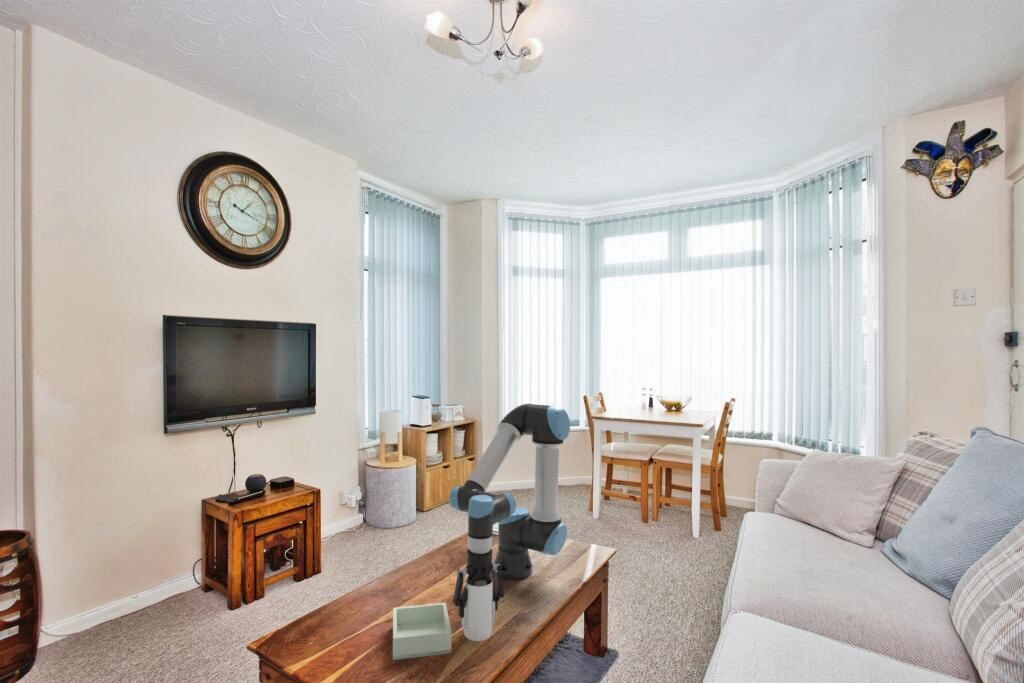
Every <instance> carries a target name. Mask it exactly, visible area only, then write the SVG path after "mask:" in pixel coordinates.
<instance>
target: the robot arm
mask: <svg viewBox="0 0 1024 683" xmlns="http://www.w3.org/2000/svg"><path fill="white" fill-rule="evenodd" d="M570 429H571V422H570V417H569V414H568V412H567V410H565V408H563V407H560V406H555V405H546V404H533V403H524V404H521V405H518V406H516V407H514V409H512V410H510V411H509V412H508V413H507V414H506V415H505V416H504V417H503V418H502V419H501V421H500V422H499V424H498V426H497V432H496V433H495V435H494V436H493V438H492V440H491V442H490V443H489V445H488V446H487V448H486V449H485V451H484V453H483V455H482V456H481V457H480V458H479V461H478V462H477V463H476V466H474V468H473V469H472V472H471V473H470V475H469V477H467V480H466V481H465V482H464V483H463V485H459V486H458V485H457V486H455V487H453V488H452V489H451V491H450V494H449V498H448V501H449V505H450V507H451V508H452V509H454V510H457V511H460V512H463V513H464V512H465V513H467V518H468V520H467V523H468V524H467V530H468V531H467V554H466V558H467V560H466V565H465V568H463V569H457V570H456V583H455V587H454V592H453V599H452V603H453V605H454V606H455V607H458V615H459V617H460V619H461V627H462V629H463V630H465V629H467V606H466V605H465V604H466V602H467V599H468V589H466V584H465V585H464V581H465V577H466V575H468V576H467V577H468V578H467V577H466V578H467V583H468V584H470V585H472V586H473V585H475V582H477V581H480V580H485V581H486V583H487V585H489V584H490V583H491V579H490V577H491V576H490V574H491V573H492V571H493V573H494V578H495V579H494V580H495V585H496V589H495V586H494V585H493V596H492V625H493V624H496V622H495V621H496V612H497V611H498V609H499V602H500V599H501V598H504V596H505V593H504V586H503V581H502V580H503V579H507V580H519V579H520V580H522V579H525V578H528V577H530V576H531V575H532V573H533V563H532V560H531V556H530V555H531V554H530V552H529V550H532V551H535V552H537V553H541V554H544V555H550V556H557V555H558V554H560V552H561V551H562V550H563V547H564V546H565V543H566V540H567V537H568V536H567V535H568V527H567V525H566V524H565V523H564V522H562V514H561V513H560V512H559V511H558V504H559V503H558V502H559V500H558V499H559V468H560V462H559V461H560V448H561V446H562V445H563V444H564V440H566V439H567V438H568V436H569V435H570V433H569V432H570ZM525 435H528V436H531V440H532V441H531V442H532V444H534V446H535V469H534V470H535V472H534V473H535V474H534V475H535V477H534V505H533V506H534V508H533V510H532V512H530V510H529V509H527V508H525V507H517V501H516V499H515V497H514V496H513V495H512V494H511V493H509V492H506V491H505V492H500V493H497V494H496V493H492V492H491V493H490V492H487V490H488V488H489V486H491V483H492V482H493V480H494V479H495V476H496V475H497V473H498V472H499V470H500V468H501V466H502V465H503V463H504V462H505V460H506V458H507V457H508V455H509V453H510V452H511V450H512V448H513V447H514V445H515V443H516V442H517V443H518V442H519V441H520V440H521V438H522V437H523V436H525ZM497 523H498V536H497V537H498V540H497V545H498V547H497V551H496V554H495V557H494V561H493V540H494V538H493V537H494V536H493V534H494V533H493V532H494V530H493V529H494V525H495V524H497ZM463 587H464V588H463ZM496 591H497V592H496Z"/></svg>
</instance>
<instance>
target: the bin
mask: <svg viewBox="0 0 1024 683" xmlns="http://www.w3.org/2000/svg"><path fill="white" fill-rule="evenodd" d="M447 606H448V605H447V602H439V603H438V602H437V603H428V604H420V605H417V604H416V605H409V606H399V607H398V606H397V607H393V608H392V661H399V660H405V659H415V658H423V657H431V656H438V655H440V656H441V655H447V654H448V655H449V654H452V637H453V636H452V634H453V633H452V626H451V623H450V617H449V612H448V607H447Z"/></svg>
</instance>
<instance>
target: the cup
mask: <svg viewBox="0 0 1024 683" xmlns="http://www.w3.org/2000/svg"><path fill="white" fill-rule="evenodd" d="M467 578H468V576H467V577H466V579H465V585H466V589H468V599H467V602H466V604H465V605H466V606H467V629H465V630H464V629H463V630H464V632H463V634H464V637H465V638H466V639H468V640H469V641H471V642H472V641H473V642H482V641H485V640H488V639H489V638H490V637H491V636H492V631H493V630H492V629H493V627H492V625H493V624H492V598H493V597H492V596H493V586H494V584H493V583H494V580H493V578H492V577H491V576H490V579H491V583H490V584H489V585H487V583H486V581H485V580H480V581H477V582H475V585H473V586H472V585H470V584H468V583H467Z"/></svg>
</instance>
